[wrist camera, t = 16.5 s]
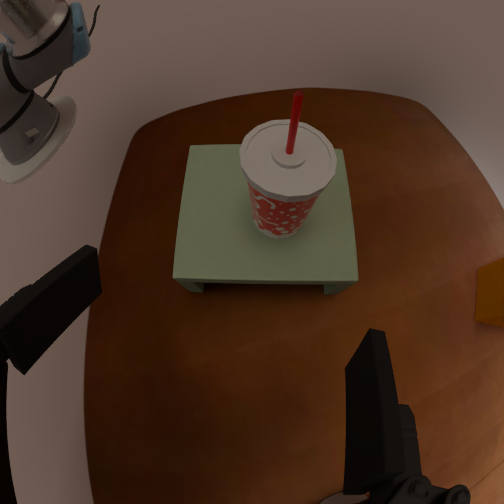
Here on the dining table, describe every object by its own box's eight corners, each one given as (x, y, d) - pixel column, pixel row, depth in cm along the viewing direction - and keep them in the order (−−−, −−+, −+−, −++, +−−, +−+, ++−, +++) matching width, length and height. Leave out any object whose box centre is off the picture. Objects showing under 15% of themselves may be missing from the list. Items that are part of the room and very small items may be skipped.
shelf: (200, 179, 34) (190, 145, 28) (328, 182, 34) (342, 149, 28) (189, 291, 30) (172, 277, 24) (336, 294, 30) (358, 280, 23)
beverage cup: (235, 195, 26) (220, 70, 12) (297, 178, 26) (325, 57, 13) (256, 256, 24) (258, 152, 11) (322, 236, 25) (383, 129, 11)
